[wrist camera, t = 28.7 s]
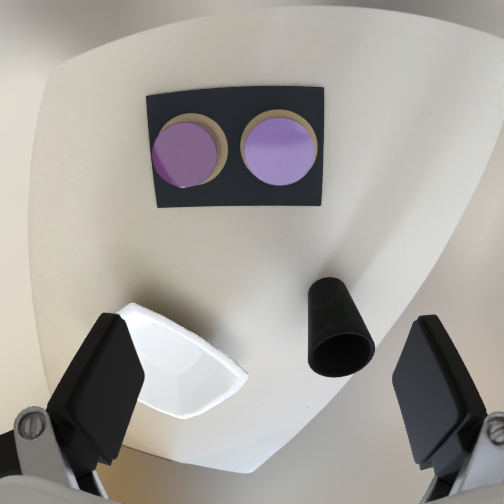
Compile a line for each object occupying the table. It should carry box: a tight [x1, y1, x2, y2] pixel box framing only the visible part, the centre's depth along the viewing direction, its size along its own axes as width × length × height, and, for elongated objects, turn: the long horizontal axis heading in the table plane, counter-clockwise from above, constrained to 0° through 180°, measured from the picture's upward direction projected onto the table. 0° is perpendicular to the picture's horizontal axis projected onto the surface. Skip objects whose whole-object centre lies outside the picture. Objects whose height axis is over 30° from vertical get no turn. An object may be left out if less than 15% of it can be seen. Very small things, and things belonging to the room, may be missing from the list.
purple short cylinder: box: [152, 120, 221, 187], centre depth 32 cm, size 7×7×3 cm
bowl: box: [115, 302, 249, 419], centre depth 47 cm, size 22×23×6 cm
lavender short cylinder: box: [244, 117, 315, 186], centre depth 32 cm, size 7×7×3 cm
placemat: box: [146, 86, 324, 208], centre depth 33 cm, size 14×20×1 cm
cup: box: [308, 277, 375, 378], centre depth 37 cm, size 8×8×12 cm
